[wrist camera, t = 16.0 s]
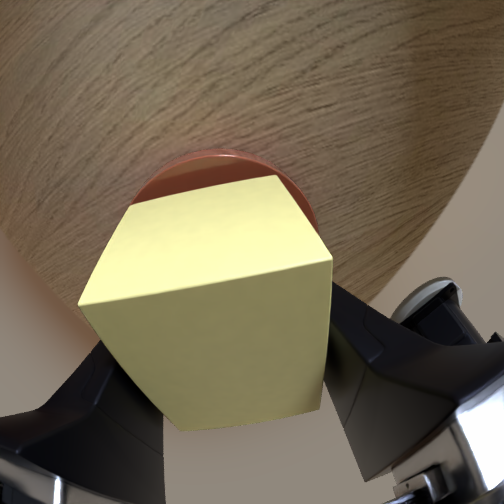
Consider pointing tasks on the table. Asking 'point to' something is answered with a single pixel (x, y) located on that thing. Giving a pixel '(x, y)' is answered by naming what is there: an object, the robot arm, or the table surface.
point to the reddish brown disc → (216, 176)
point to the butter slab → (217, 304)
